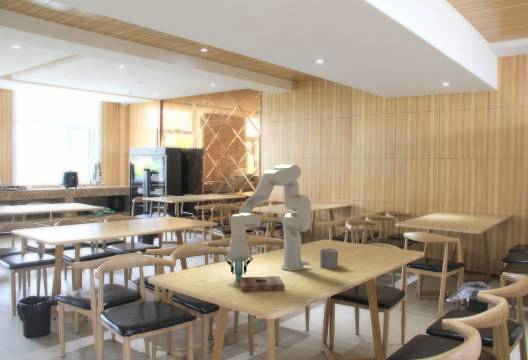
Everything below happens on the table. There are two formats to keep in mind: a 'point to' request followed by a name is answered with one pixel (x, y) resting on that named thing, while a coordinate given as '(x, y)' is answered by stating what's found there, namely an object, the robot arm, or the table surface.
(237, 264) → the teal peg
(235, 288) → the table surface
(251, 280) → the walnut board
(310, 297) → the table surface
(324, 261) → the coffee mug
